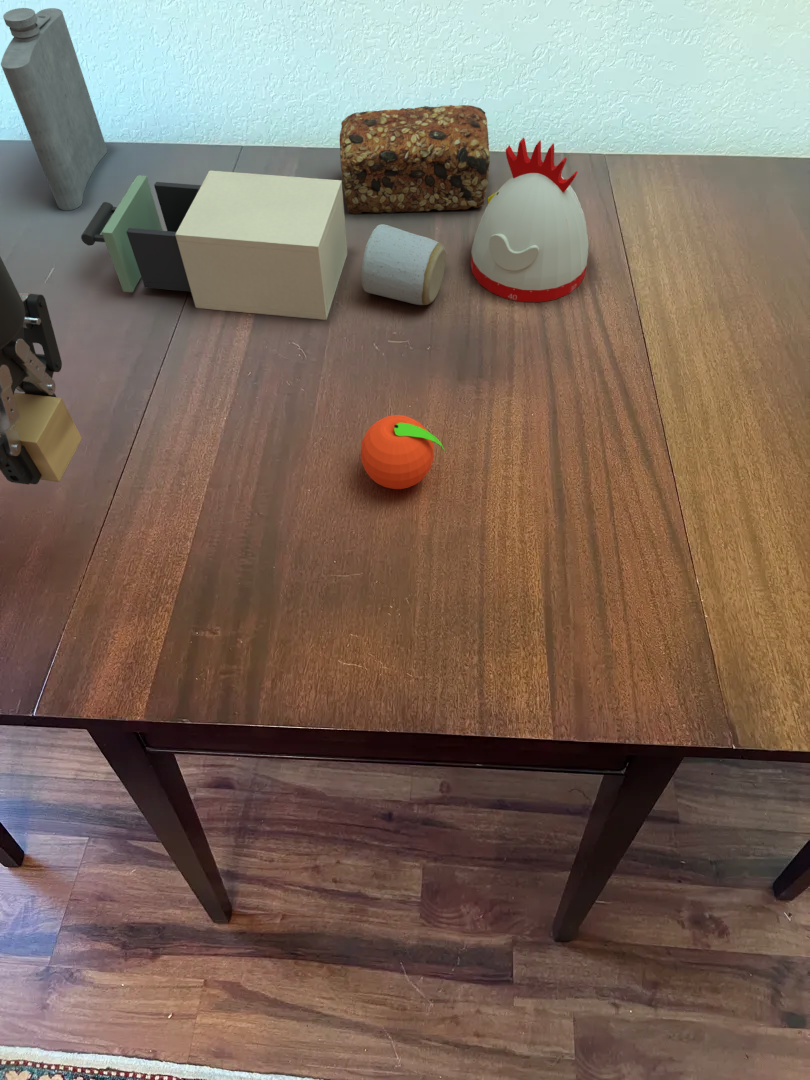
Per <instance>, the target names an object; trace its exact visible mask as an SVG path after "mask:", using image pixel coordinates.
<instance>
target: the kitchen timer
mask: <svg viewBox="0 0 810 1080" xmlns="http://www.w3.org/2000/svg"><path fill="white" fill-rule="evenodd" d="M517 146H518V147H517V153H516V154H515V152H514V150H513V149H512V147H511V145H508V146H507V147H506V149H505V156H506V160H507V163H508V167H509V169H510V172H511V176H512V177H510V178H509V179H508V180H506V181H505V183H503V184H502V186H500V188H499V189H498V190H497V191H496V192H494V193H492V194H491V195H490V196H488V197H487V203H488V204H487V205H486V207H485V210H484V212H483V214H482V216H481V218H480V221H479V224H478V226H477V229H476V232H475V234H474V239H473V243H472V246H471V251H470V269H471V273H472V275H473V277H474V278H475V279H476V281H477V283H478V284H479V285H480V286H482V287H483V288H485V289H486V290H487V291H488V292H490V293H492V294H494V295H496V296H499V297H501V298H504V299H507V300H510V301H515V302H520V303H542V302H548V301H549V302H550V301H555V300H557V299H559V298H563V297H565V296H568V295H570V294H571V293H572V292H573V291H575V290H576V289H577V288H578V287H579V286H580V284H581V283H582V281H583V280H584V278H585V275H586V271H587V266H588V258H589V257H588V256H589V236H588V228H587V222H586V221H587V220H586V216H585V213H584V210H583V208H582V204H581V201H580V199H579V197H578V196H577V194H576V192H575V189H574V188H573V187H572V186H571V184H572V182H573V181H574V180H575V178H576V176H577V174H578V171H577V170H576V171H575V172H574V173H573V174H572V175H571V176H569V177H568V178H566V179H565V178H564V177H563V176H562V172H563V170H564V167H565V165H566V163H567V159H568V158H567V156H565V157H563V158H562V160H560V161H559V163H558V164H557V165H555V143H552V144H551V145H550V147H549V148H548V150H547V151H546V153H545V157H544V160H543V161H542V140H539V141H538V142H537V143H536V144H535V147H534V148H533V151H532V154H531V157H529V156H528V149H527V144H526V140H525V137H522V138H521V140H520V141H519V142H518V145H517Z"/></svg>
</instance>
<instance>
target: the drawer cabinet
mask: <svg viewBox="0 0 810 1080" xmlns="http://www.w3.org/2000/svg"><path fill="white" fill-rule="evenodd" d="M200 185H201V187H200V189H199V191H198V193H197V195H196V197H195V199H194V200H193V202H192V204H191V206H190V208H189V210H188V212H187V213H186V215H185V217H184V219H183V221H182V223H181V225H180V227H179V228H178V230H177V232H176V234H175V236H176V239H177V243H178V246H179V250H180V253H181V257H182V260H183V264H184V268H185V271H186V275H187V278H188V282H189V285H190V289H191V292H190V293H191V296H192V300H193V304H194V307H195V308H196V309H202V310H203V309H204V310H213V311H214V310H216V311H225V312H237V313H248V314H257V315H268V316H277V317H278V316H280V317H290V318H299V319H310V320H311V319H312V320H321V321H327V320H328V316H329V313H330V311H331V307H332V304H333V301H334V298H335V295H336V291H337V288H338V285H339V283H340V279H341V276H342V272H343V269H344V266H345V263H346V259H347V257H348V243H347V232H346V231H347V230H346V218H345V205H344V194H343V192H344V191H343V180H342V179H341V180H340V179H327V178H313V177H302V176H301V177H300V176H290V175H289V176H288V175H274V174H260V173H247V172H235V171H222V170H209V171H208V173H207V174H206V176H205V178H204V180H203V182H202V184H200Z"/></svg>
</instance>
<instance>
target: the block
mask: <svg viewBox="0 0 810 1080" xmlns="http://www.w3.org/2000/svg"><path fill="white" fill-rule="evenodd" d="M13 396H14V399H15V403H16V406H17V410H18V413H19V417H20V419H19V421H18V422H16V423H15V425H16V429H17V432H18V435H19V439H20V442H21V446H24V447H25V448H26V450H27V452H28V453H29V455H30V457H31V458H32V460H33V462H34V463H35V465H36V466H37V468H38V470H39V471H40V473H41V475H42V477H41V478H40V480H39V481H46V482H47V481H48V482H55V483H60V482H61V479H62V478H63V476H64V475H65V473H66V470H67V469H68V466H69V464H70V462H71V460H72V459H73V457H74V455H75V453H76V451H77V449H78V448H79V445H80V443H81V441H82V439H83V437H82V435H81V434H80V432H79V430H78V428H77V426H76V424H75V422H74V420H73V418H72V416H71V413H70V412H69V410H68V408H67V406H66V404H65V402H64V400H63V398H62V397H57V396H56V397H50V396H41V395H32V394H24V392H14V395H13ZM0 437H1V435H0ZM0 472H1V473H2V471H1V470H0ZM2 475H3V476H4V474H3V473H2Z"/></svg>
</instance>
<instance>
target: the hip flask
mask: <svg viewBox="0 0 810 1080" xmlns="http://www.w3.org/2000/svg"><path fill="white" fill-rule="evenodd" d="M2 18H3V21H4V23H5V25H6V26H7V27H8V28H9V30H10V34H11V36H12V39H11V40H10V42H9V44H8V45H7V47H6V49H5V51H4V54H3V55H2V58H1V61H0V66H1V68H2V71H3V73H4V77H5V78H6V82H7V83H8V86H9V89H10V90H11V93H12V96H13V98H14V99H13V100H14V101H15V103H16V106H17V108H18V111H19V114H20V116H21V118H22V121H23V123H24V126H25V128H26V131H27V133H28V135H29V138H30V140H31V143H32V145H33V149H34V151H35V153H36V155H37V158H38V161H39V163H40V165H41V168H42V170H43V173H44V175H45V178H46V180H47V183H48V185H49V188H50V191H51V192H52V195H53V198H54V200H55V203H56V205H57V208H58V209H59V210H61V211H73V210H76V209H78V208H80V207H81V206H82V204H83V199H84V194H85V191H86V187H87V184H88V183H89V181H90V178H91V177H92V174H93V173H94V170H95V169H96V167H97V166H98V165H99V163H100V162H101V161H102V159H103V158H104V157H105V156H106V155H107V153H108V148H107V144H106V141H105V139H104V136H103V132H102V129H101V126H100V123H99V120H98V117H97V114H96V111H95V107H94V105H93V102H92V99H91V95H90V92H89V90H88V87H87V83H86V80H85V77H84V74H83V71H82V68H81V64H80V62H79V59H78V56H77V53H76V50H75V46H74V44H73V40H72V37H71V35H70V31H69V28H68V25H67V22H66V19H65V15H64V13H63V10H61V9H60V8H56V7H48V8H43V9H41V10H39V11H37V12H36V11H35V10H34V9H32V8H29V7H19V8H13V9H10V10H7V11H6V12H5V13H3V16H2Z"/></svg>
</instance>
